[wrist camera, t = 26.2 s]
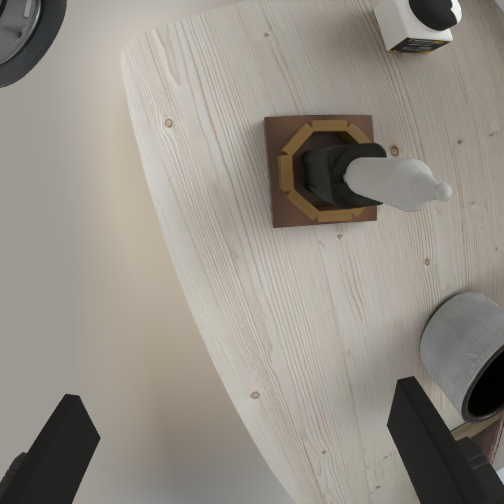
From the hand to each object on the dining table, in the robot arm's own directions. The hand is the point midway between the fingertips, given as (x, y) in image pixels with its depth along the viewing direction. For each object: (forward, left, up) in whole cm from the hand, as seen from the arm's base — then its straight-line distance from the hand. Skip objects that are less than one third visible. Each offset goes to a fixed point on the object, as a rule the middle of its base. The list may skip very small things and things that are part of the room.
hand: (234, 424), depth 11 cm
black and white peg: (+10, +8, -28) cm, 31 cm away
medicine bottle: (+24, +28, -31) cm, 48 cm away
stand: (+10, +8, -31) cm, 33 cm away
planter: (+34, -19, -31) cm, 50 cm away
